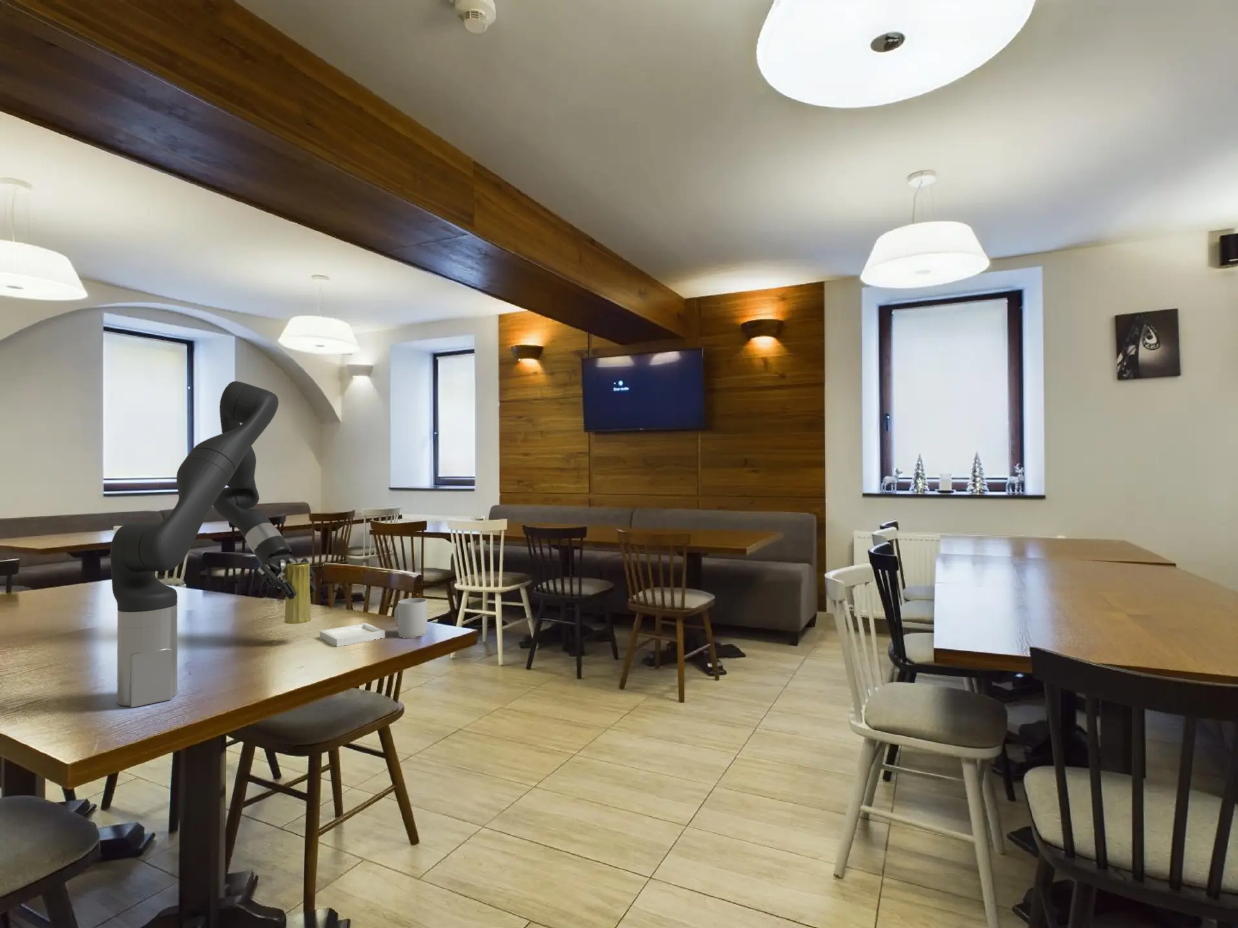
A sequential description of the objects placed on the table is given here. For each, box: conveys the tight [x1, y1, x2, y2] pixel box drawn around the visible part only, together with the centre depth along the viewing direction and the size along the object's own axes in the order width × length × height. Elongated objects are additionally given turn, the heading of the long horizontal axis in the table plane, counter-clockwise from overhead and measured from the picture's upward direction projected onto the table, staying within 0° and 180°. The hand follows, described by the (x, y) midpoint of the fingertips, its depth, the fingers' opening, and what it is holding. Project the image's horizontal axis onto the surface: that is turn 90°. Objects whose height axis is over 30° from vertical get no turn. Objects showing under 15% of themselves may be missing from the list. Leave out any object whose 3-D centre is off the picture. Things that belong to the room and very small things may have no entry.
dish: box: [319, 622, 386, 648], centre depth 166 cm, size 12×12×2 cm
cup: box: [393, 597, 428, 639], centre depth 169 cm, size 7×10×9 cm
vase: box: [283, 562, 312, 625], centre depth 161 cm, size 6×6×14 cm
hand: (303, 594), depth 160 cm, fingers closed on vase, 5 cm apart
